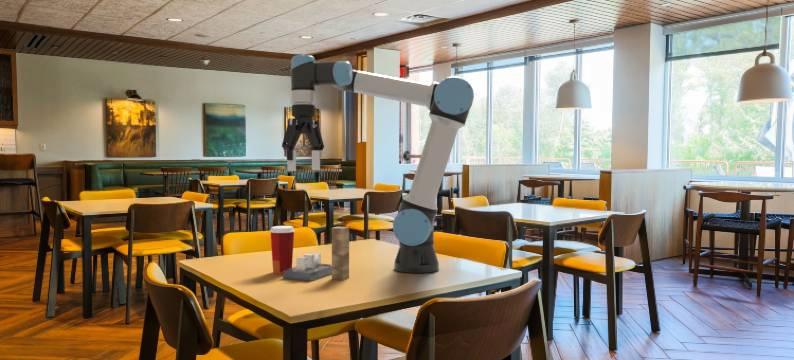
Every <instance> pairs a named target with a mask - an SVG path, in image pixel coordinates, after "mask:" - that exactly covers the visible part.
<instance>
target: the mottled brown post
mask: <svg viewBox="0 0 794 360" xmlns="http://www.w3.org/2000/svg"><path fill="white" fill-rule="evenodd" d="M331 265H332V274H331V279H332V280H339V281H345V280H347V279H349V278H350V227H349V226H335V227H331Z"/></svg>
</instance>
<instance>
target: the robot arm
mask: <svg viewBox="0 0 794 360" xmlns="http://www.w3.org/2000/svg"><path fill="white" fill-rule="evenodd" d="M290 60H291V61H290V62H291V63H290V80H291V81H290V82H291V84H290V85H291V89H290V90H291V103H292V105H291V116H292V117H293V118H288V119H287V126H286V130H285V133H284V137H283V140H282V143H281V147H282V148H283V151H286V160H287V161H286V162H287V167H286V168H287V169H286V170H287V172H297V152H296V149H295V148H296V145H297V144H298V141H299V139H300V137H301V135H305V136H306V137H307V139H308V141H309V143H310V145H311V148H312V149H313V150H311V170H312V171H320V170H321V151H323V150H324V149H325V145H324V141H323V137H322V133H321V130H320V126H319V125H320V124H319V120H313V118H315V117H316V106H315V105H314V104H315V103H316V86H331V87H333V88H335V89H336V90H337V91H341V92H350V93H356V94H361V95H366V96H371V97H375V98H382V99H385V100H392V101H397V102H402V103H407V104H412V105H417V106H422V107H426V108H427V110H428V111H429V113H428V116H429V118H430V120H431V123H430V125H429V126H430V127H429V130H428V132H427V137H426V138H425V139H426V140H425V141H424V142H425V143H424V146H423V148H422V151H421V153H420V158H419V161H418V165H417V167H416V171H415V173H414V174H415V175H414V177H413V180H412V184H411V186H410V189H409V193H408V194H406V195H404V196H403V197H402V199H401V202H400V204H399V208H398V211H397V214H396V216H395V217H394V219H393V223H392V230H393V233H394V235H395V236H394V237H395V238H396V239H397V240H398V241H399V247H398V250H397V252H396V257H395V259H394V262H393V263H394V268H393V269H394V270H395V271H398V272H401V273H409V274H425V273H433V272H438V271H439V269H440V267H439V266H440V265H439V264H440V263H439V260H438V256H437V253H436V250H435V245H434V244H435V242H434V240H435V233H434V232H435V226H434V225H435V218H436V216H437V212H438V210H439V209H438V206H437V204H436V199H437V197H438V193H439V190H440V187H441V185H442V181H443V178H444V174H445V172H446V168H447V165H448V162H449V159H450V156H451V153H452V150H453V147H454V144H455V140H456V138H457V135H458V132H459V129H461V128H463V127H465V125H466V122H467V119H468V115H469V113H470V111H471V110H470V109H471V108H472V105H473V102H474V95H475V94H474V89H473V87H472V85H471V84H470V83H469V81H467V80H466V79H464V78H463V77H459V76H448V77H446V78H444V79H442V80H441V81H440V82H437V81H434V82H432V83H426V82H422V81H421V82H420V81H416V80H409V79H405V78H401V77H399V78H398V77H394V76H393V77H392V76H390V75H389V76H388V75H383V74H378V73H373V72H369V71H368V72H367V71H362V70H357V69H353V67H352V64H351V62H349V60H347V61H345V60H343V61H342V60H338V61H335V60H334V61H316V59H315V57H314V56H313V55H309V54H306V55H305V54H296V55H294V56H293V57H292V58H291V59H290Z"/></svg>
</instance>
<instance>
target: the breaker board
mask: <svg viewBox="0 0 794 360" xmlns="http://www.w3.org/2000/svg"><path fill="white" fill-rule="evenodd" d="M310 254H313V255H314V267H313V268H308V267H307V257H304V256H298V257H296V266H292V268H290V269H287V270H283V274H282V275H283V277H282V278H283V279H285V280H295V281H302V282H303V281H305V282H312V281H315V280H319V279H321V278H324V277H327V276H329V275H332V263H331V264H330V263H322V253H316V252H312V253H310Z"/></svg>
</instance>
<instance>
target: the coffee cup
mask: <svg viewBox="0 0 794 360" xmlns="http://www.w3.org/2000/svg"><path fill="white" fill-rule="evenodd" d="M294 228H295V227H294V226H292V225H276V226H271V228H270V230H269V231H268V232H270V243H271V258H272V259H271V260H272V272H273V273H272V274H274V275H275V274H276V275H283V270H287V269H290V268H293V259H294V258H293V257H294V256H293V255H294V243H295V242H294V241H295V239H294V238H295V232H296V230H295V229H294Z"/></svg>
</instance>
